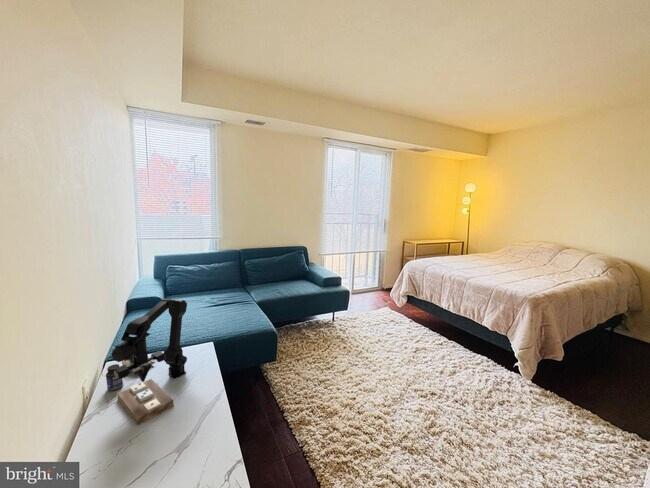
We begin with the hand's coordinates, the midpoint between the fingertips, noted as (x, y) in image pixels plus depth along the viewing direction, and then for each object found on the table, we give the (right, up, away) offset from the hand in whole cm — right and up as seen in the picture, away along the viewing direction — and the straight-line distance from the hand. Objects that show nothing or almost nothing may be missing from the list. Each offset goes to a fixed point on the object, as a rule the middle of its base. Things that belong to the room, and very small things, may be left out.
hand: (142, 381), depth 126 cm
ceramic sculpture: (-19, -7, +25) cm, 32 cm away
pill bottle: (-20, -8, +10) cm, 24 cm away
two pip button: (-5, -8, +5) cm, 10 cm away
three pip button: (+1, -8, 0) cm, 8 cm away
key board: (+1, -10, 0) cm, 10 cm away
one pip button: (+7, -10, -5) cm, 14 cm away
